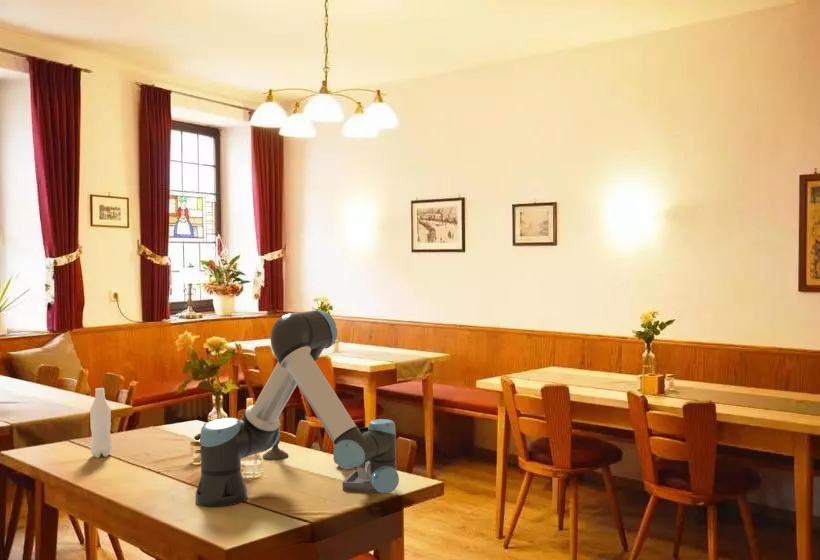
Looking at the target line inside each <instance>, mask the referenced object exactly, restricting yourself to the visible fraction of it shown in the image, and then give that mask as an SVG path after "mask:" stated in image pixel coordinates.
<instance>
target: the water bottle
mask: <svg viewBox="0 0 820 560" xmlns="http://www.w3.org/2000/svg"><path fill="white" fill-rule="evenodd" d="M105 395H106V393H105V388H104V387H97V388H95V393H94V396H95V398H94V400H93V402H92V404H91V407H90V409H89V417H90V418H89V419H90V421H89V422H90V432H91V442H90V453H91V454H92V456H93V457H95V458H99V459H100V457H101V455H102V456H103V458H106V457H108V456H109V455H110V454H111V452H112V449H113V446H112V445H113V444H112V440H111V427H112V420H111V419H112V418H111V417H112V415H111V413H112V412H111V411H112V410H111V409H112V408H111V406H110V404H109V403H108V400H107V399H106V396H105Z"/></svg>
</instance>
